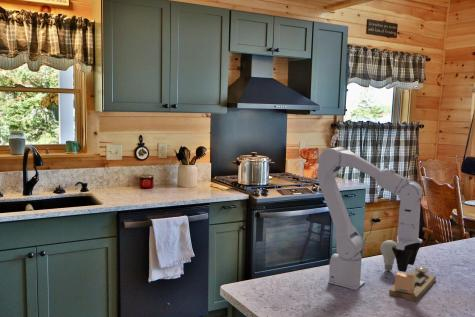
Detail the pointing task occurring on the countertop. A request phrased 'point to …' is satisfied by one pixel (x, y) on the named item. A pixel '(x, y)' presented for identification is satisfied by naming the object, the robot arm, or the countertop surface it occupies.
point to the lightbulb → (388, 253)
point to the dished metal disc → (421, 270)
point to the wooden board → (415, 287)
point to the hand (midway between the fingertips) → (406, 267)
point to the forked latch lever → (406, 282)
